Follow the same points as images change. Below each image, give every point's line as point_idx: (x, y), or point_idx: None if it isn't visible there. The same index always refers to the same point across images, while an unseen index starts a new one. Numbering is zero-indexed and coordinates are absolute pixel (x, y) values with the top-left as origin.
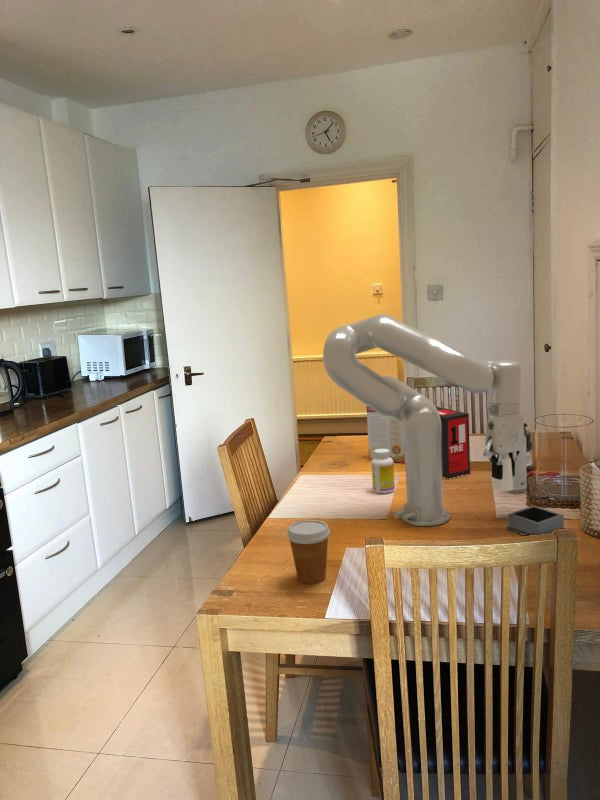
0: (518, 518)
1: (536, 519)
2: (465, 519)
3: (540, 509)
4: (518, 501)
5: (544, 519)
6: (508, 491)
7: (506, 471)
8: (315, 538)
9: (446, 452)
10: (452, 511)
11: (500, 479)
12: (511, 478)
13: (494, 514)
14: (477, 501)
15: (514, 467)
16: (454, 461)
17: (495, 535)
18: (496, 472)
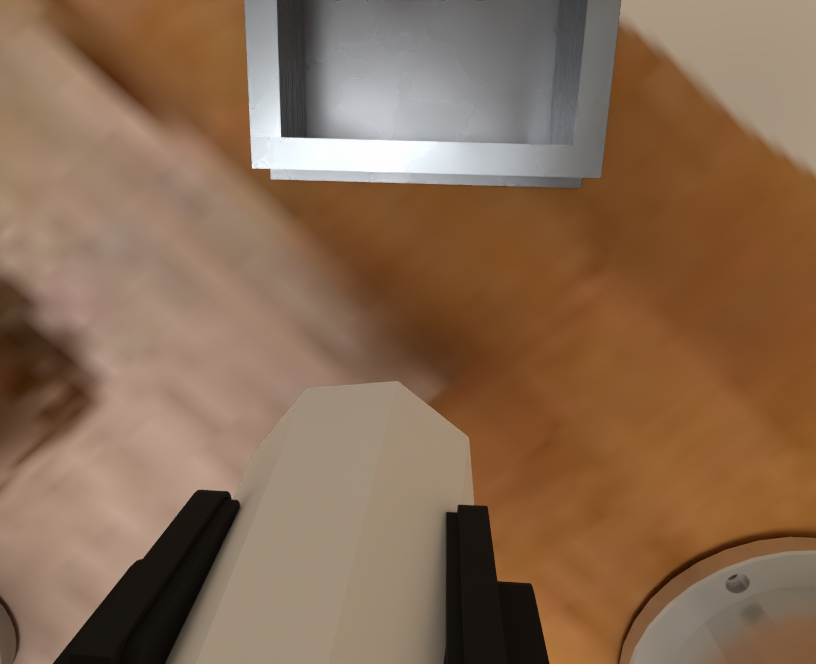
0: (612, 45)
1: (304, 112)
2: (613, 498)
3: (278, 51)
4: (84, 485)
5: (298, 16)
6: (12, 633)
7: (383, 548)
8: None
9: None
10: (553, 636)
11: (484, 510)
12: (303, 457)
13: None
14: None
15: (147, 570)
16: None
17: (730, 159)
18: (539, 624)
